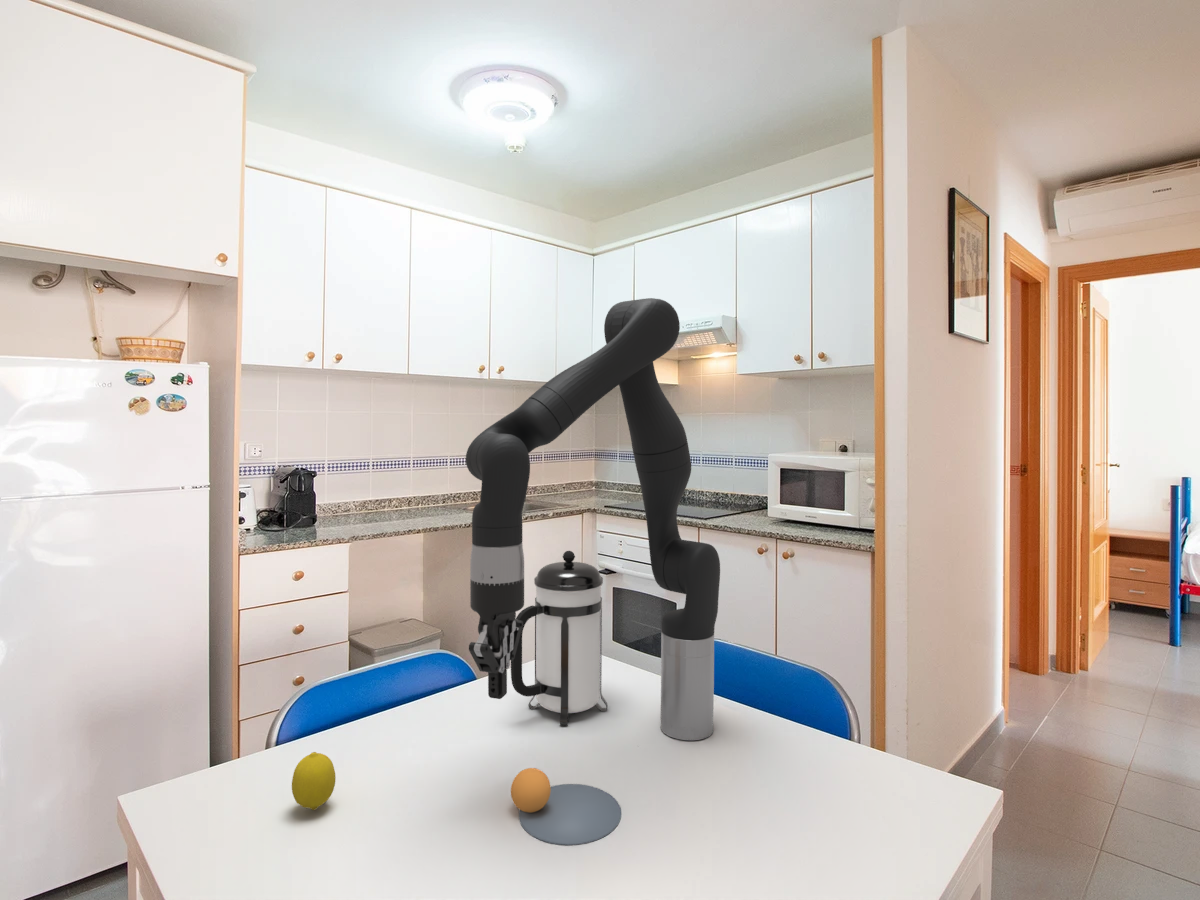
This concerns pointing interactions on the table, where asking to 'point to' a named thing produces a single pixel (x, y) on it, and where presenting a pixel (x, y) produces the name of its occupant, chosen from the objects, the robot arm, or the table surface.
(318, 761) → the lemon
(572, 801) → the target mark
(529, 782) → the ball
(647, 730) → the table surface
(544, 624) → the coffee press
